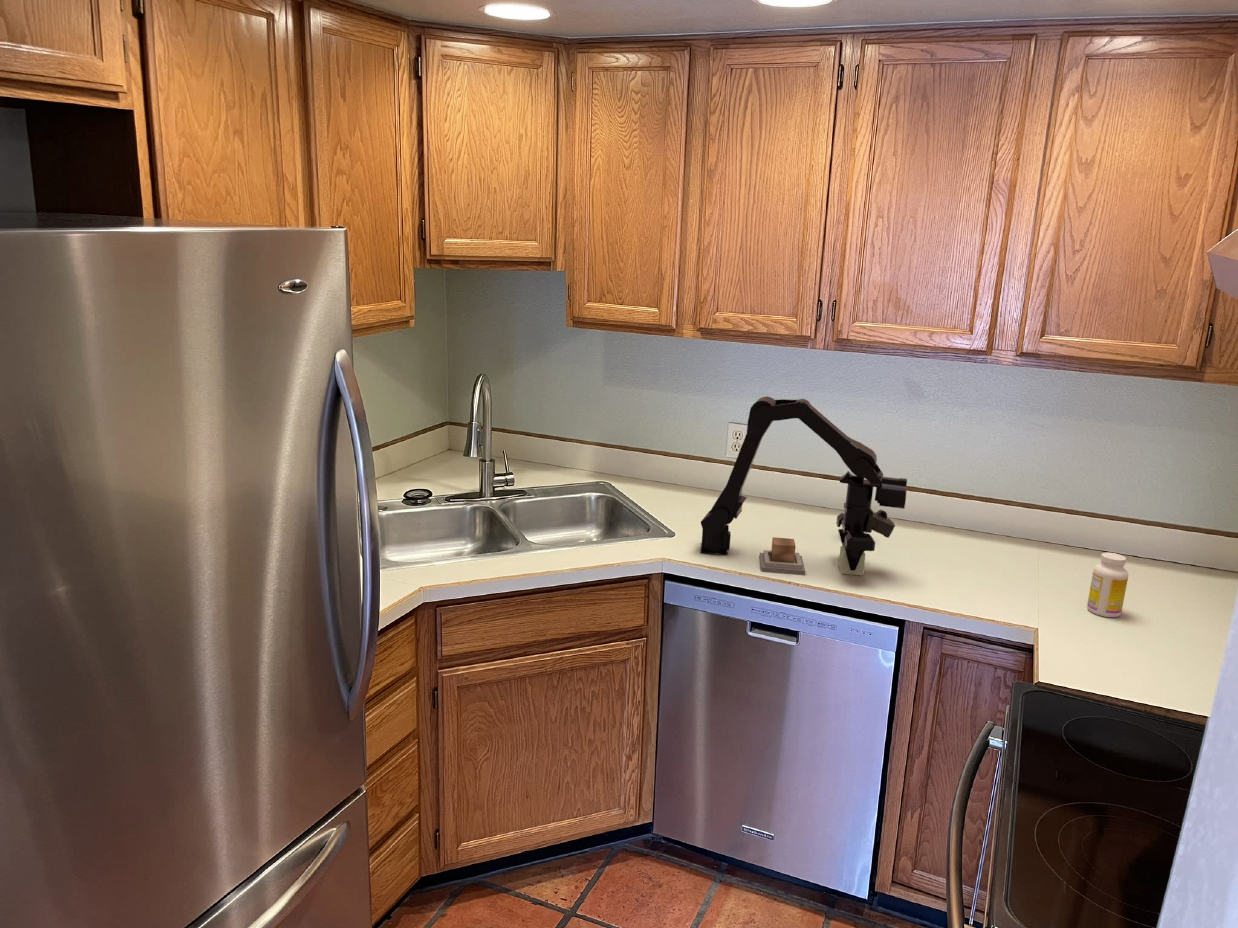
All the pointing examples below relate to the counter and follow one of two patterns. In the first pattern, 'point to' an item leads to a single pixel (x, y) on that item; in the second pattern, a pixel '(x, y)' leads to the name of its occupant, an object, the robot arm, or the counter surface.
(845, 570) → the sage block
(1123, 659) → the counter surface
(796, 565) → the base plate
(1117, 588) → the supplement bottle
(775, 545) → the walnut block
